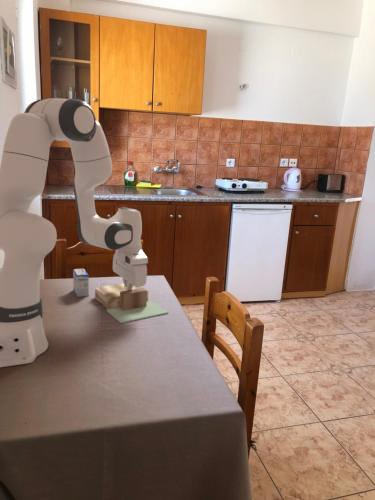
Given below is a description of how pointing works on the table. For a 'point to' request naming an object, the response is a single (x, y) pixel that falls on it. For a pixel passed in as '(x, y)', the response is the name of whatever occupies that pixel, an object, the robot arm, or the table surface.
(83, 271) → the medicine box
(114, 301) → the beech block
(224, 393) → the table surface
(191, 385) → the table surface
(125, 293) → the walnut tile
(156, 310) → the sage green mat
